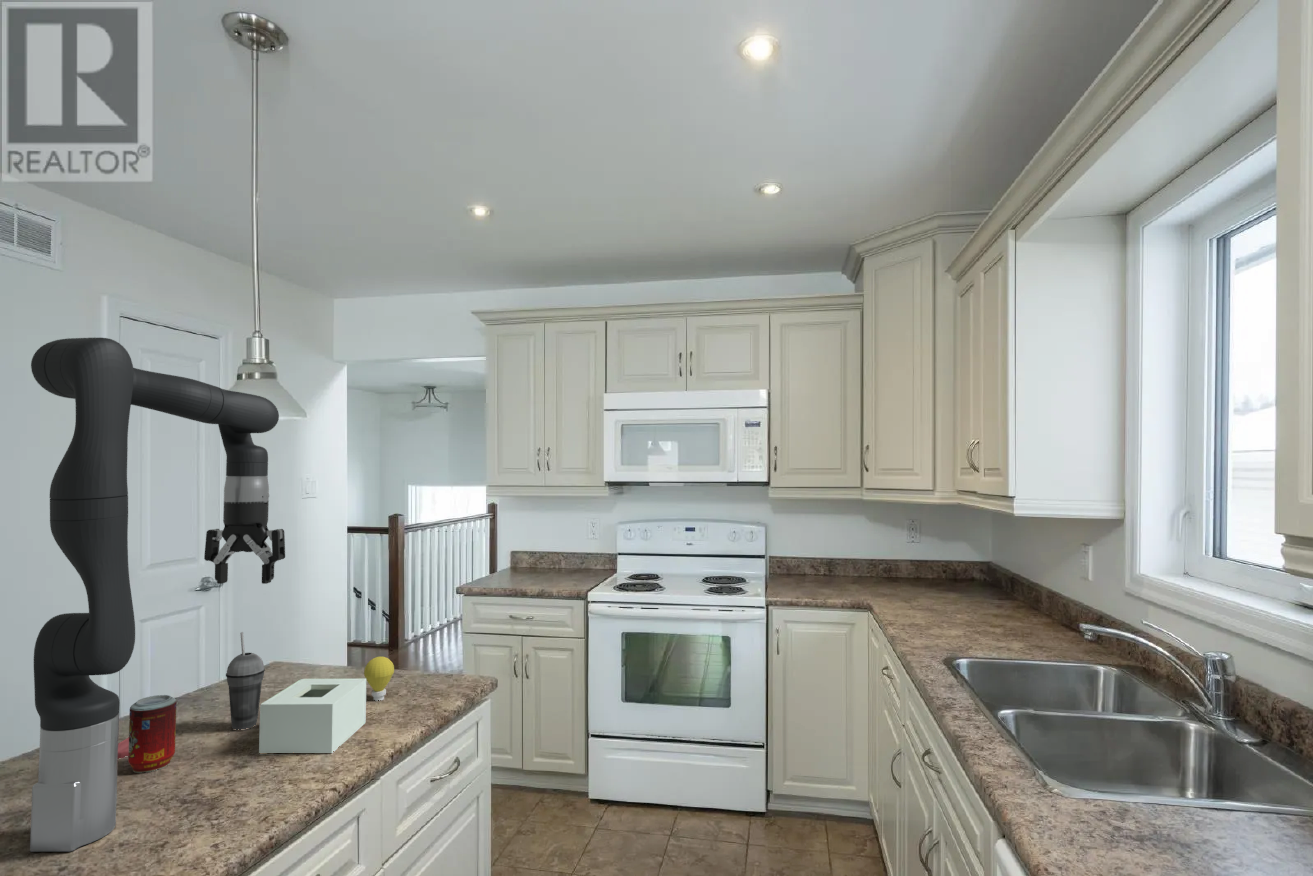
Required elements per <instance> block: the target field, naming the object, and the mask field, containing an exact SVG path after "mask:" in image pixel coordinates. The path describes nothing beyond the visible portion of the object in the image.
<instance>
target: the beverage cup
mask: <svg viewBox="0 0 1313 876" xmlns="http://www.w3.org/2000/svg"><path fill="white" fill-rule="evenodd" d="M244 638H245V637H244V632H243V631H241V632H240V644H241V647H240V648H241V653H240V654H238V655H236V656H235V657H234V658H233V659H232V660H231V661H230V662H229V664H228V665H227V668H226V673H225V677H226V681H227V686H228V695H229V697H228V698H229V709H230V710H229V711H230V722H231V723H230V724H231V729H232V728H233V729H236V730H238V729H239V730H241V729H246V728H251V727H253V726H254V725H256V723H258V719H259V712H260V701H261V694H262V693H261V692H262V684H263V680H264V677H265V671H266V669H265V664H264V661H263V659H262V658H261V657H260V655H258V654H256V653H254V652H245V639H244ZM256 726H257V725H256ZM251 729H252V728H251Z"/></svg>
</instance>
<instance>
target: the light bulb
mask: <svg viewBox="0 0 1313 876" xmlns="http://www.w3.org/2000/svg"><path fill="white" fill-rule="evenodd" d="M363 671H364V672H363V675H364V679H365V678H366V683H368V684H369V686H370V687H371V688H372V690H371V696H372V697H373V699H372V700H373V701H374V700H375V701H374V702H380V700H381V701H384V700H385V695H386V694H387V689H386V687H387V685H389V683H390V681H391V680H392V677H393V675H394V673H395V665H394V663H393V662H392V661H391V660H390V658H388V657H385V656H376V657H374V658H372V659H370V660H369V661H368V662H367V663H366V665H365V667H364V670H363ZM378 700H379V701H378Z"/></svg>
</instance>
